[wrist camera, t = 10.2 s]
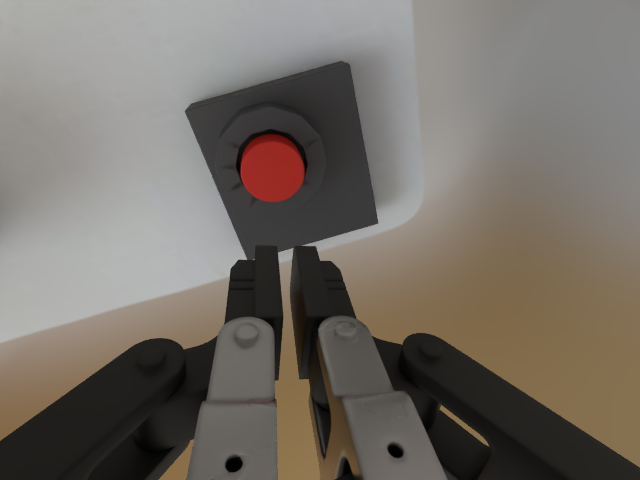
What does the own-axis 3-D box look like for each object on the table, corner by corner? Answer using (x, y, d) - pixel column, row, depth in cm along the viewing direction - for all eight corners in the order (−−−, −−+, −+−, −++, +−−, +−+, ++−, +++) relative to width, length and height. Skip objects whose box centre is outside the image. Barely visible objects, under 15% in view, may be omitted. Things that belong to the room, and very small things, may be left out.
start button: (232, 143, 21) (230, 151, 20) (292, 126, 21) (295, 133, 20) (253, 198, 23) (252, 209, 22) (308, 182, 23) (311, 192, 22)
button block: (190, 104, 23) (178, 117, 20) (342, 60, 23) (356, 66, 20) (248, 246, 29) (247, 275, 25) (370, 211, 29) (385, 235, 26)
